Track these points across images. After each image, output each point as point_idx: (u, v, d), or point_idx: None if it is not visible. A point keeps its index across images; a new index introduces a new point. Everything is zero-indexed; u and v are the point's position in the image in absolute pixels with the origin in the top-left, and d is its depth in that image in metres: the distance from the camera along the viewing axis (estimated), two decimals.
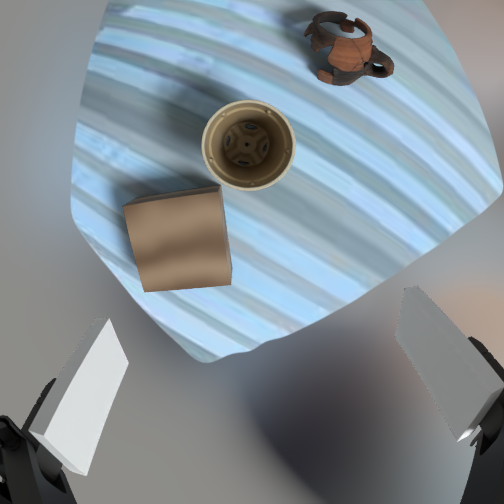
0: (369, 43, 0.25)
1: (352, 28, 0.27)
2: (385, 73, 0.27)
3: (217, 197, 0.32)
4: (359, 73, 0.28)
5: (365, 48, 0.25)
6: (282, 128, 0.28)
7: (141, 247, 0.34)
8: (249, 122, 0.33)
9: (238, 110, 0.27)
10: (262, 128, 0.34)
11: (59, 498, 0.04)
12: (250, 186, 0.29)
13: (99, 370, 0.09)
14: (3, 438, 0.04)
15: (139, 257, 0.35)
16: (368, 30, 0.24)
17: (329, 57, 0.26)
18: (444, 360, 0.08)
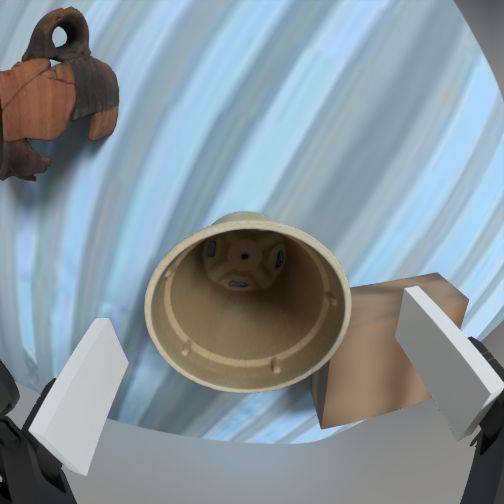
0: (14, 69, 0.09)
1: None
2: (71, 19, 0.09)
3: None
4: (81, 64, 0.12)
5: (21, 74, 0.09)
6: None
7: (379, 408, 0.21)
8: (203, 252, 0.20)
9: (175, 320, 0.14)
10: None
11: (59, 498, 0.04)
12: (340, 310, 0.13)
13: (99, 370, 0.09)
14: (3, 438, 0.04)
15: (391, 408, 0.21)
16: None
17: (50, 137, 0.12)
18: (444, 360, 0.08)
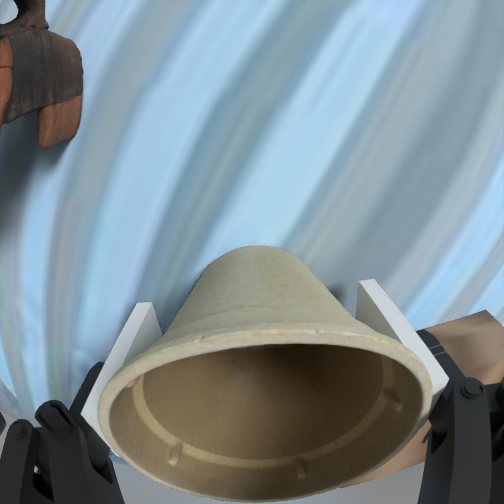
0: None
1: None
2: None
3: None
4: (27, 40, 0.06)
5: None
6: (190, 322, 0.06)
7: (408, 463, 0.15)
8: None
9: (156, 422, 0.08)
10: None
11: (106, 490, 0.05)
12: (405, 417, 0.07)
13: None
14: (52, 424, 0.05)
15: (419, 461, 0.15)
16: None
17: None
18: None
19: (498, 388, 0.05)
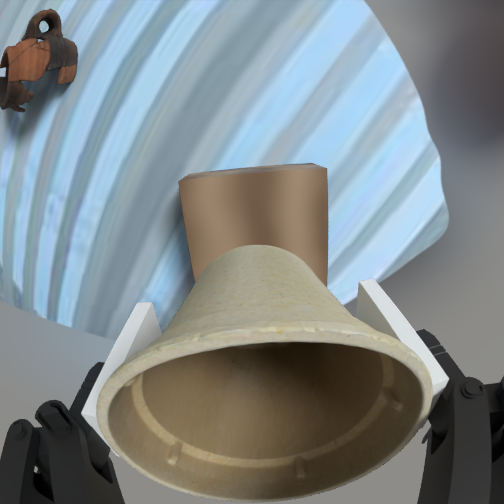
0: (17, 45, 0.14)
1: None
2: (50, 15, 0.14)
3: (186, 181, 0.22)
4: (55, 41, 0.17)
5: (21, 47, 0.14)
6: (189, 321, 0.06)
7: None
8: None
9: (155, 421, 0.08)
10: None
11: (106, 489, 0.05)
12: (405, 417, 0.07)
13: None
14: (52, 423, 0.05)
15: None
16: (4, 52, 0.14)
17: (34, 79, 0.17)
18: None
19: (498, 388, 0.05)
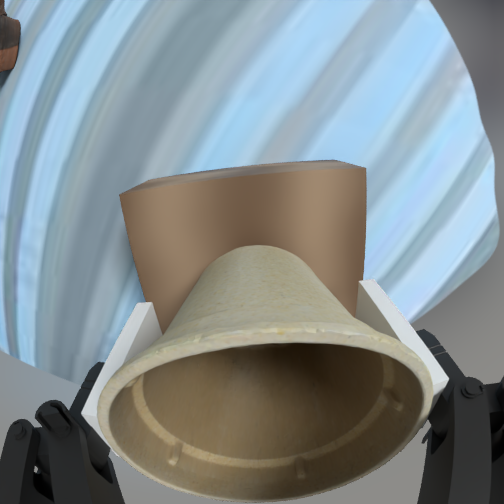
0: None
1: None
2: None
3: (131, 194, 0.13)
4: None
5: None
6: (190, 321, 0.06)
7: None
8: None
9: (155, 422, 0.08)
10: None
11: (106, 489, 0.05)
12: (405, 417, 0.07)
13: None
14: (52, 424, 0.05)
15: None
16: None
17: None
18: None
19: (498, 388, 0.05)
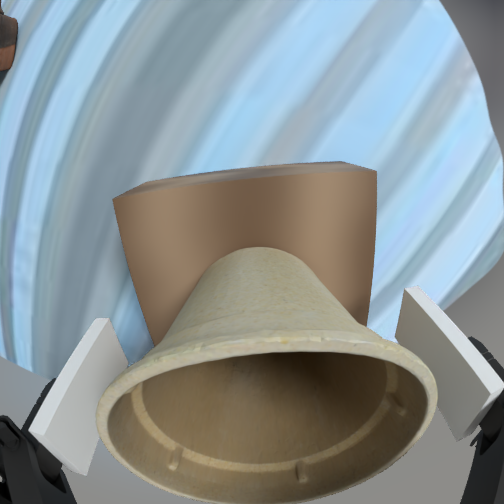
0: None
1: None
2: None
3: (125, 198, 0.12)
4: None
5: None
6: (190, 327, 0.06)
7: None
8: None
9: (155, 427, 0.08)
10: None
11: (59, 498, 0.04)
12: (408, 422, 0.07)
13: (99, 370, 0.09)
14: (3, 438, 0.04)
15: None
16: None
17: None
18: (444, 360, 0.08)
19: None
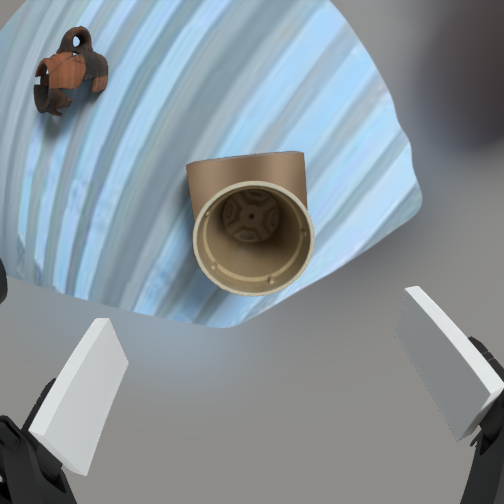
0: (53, 57, 0.21)
1: None
2: (82, 32, 0.21)
3: (192, 165, 0.28)
4: (88, 54, 0.23)
5: (58, 59, 0.21)
6: (229, 192, 0.22)
7: None
8: (223, 213, 0.29)
9: (208, 247, 0.24)
10: (230, 197, 0.29)
11: (59, 498, 0.04)
12: (308, 237, 0.22)
13: (99, 370, 0.09)
14: (3, 438, 0.04)
15: None
16: (41, 62, 0.20)
17: (73, 87, 0.23)
18: (444, 360, 0.08)
19: None
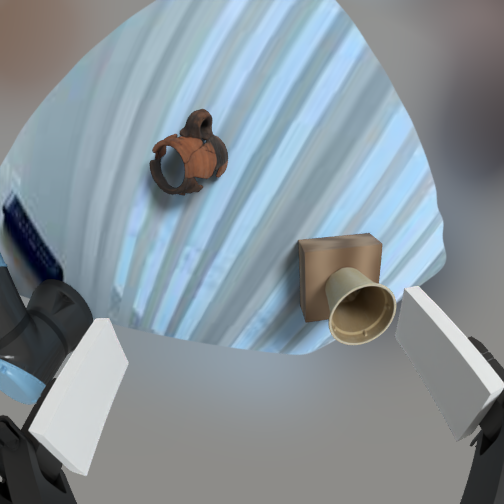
0: (181, 140, 0.32)
1: (162, 147, 0.36)
2: (207, 118, 0.33)
3: (309, 252, 0.39)
4: (213, 141, 0.35)
5: (188, 145, 0.33)
6: (351, 285, 0.34)
7: None
8: None
9: None
10: (333, 274, 0.40)
11: (59, 498, 0.04)
12: (391, 310, 0.34)
13: (99, 370, 0.09)
14: (3, 438, 0.04)
15: None
16: (166, 143, 0.32)
17: (207, 177, 0.35)
18: (444, 360, 0.08)
19: None
